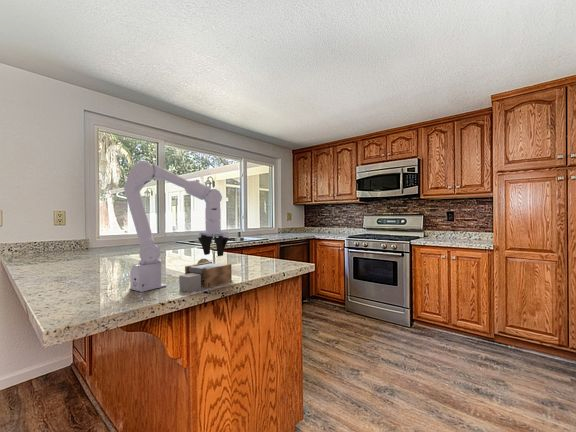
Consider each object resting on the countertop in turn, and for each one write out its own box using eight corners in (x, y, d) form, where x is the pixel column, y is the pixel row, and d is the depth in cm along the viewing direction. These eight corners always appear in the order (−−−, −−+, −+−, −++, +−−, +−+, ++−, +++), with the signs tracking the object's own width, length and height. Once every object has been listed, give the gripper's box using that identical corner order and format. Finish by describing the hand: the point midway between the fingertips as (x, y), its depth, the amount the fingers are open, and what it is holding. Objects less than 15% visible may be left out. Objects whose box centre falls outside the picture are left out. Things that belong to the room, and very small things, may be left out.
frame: (206, 287, 101) (206, 269, 101) (185, 283, 107) (185, 266, 107) (231, 280, 111) (231, 264, 110) (210, 277, 117) (210, 261, 117)
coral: (212, 277, 118) (212, 262, 118) (197, 278, 116) (197, 263, 116) (210, 270, 132) (210, 257, 132) (196, 271, 130) (196, 258, 130)
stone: (188, 292, 95) (188, 277, 95) (179, 290, 98) (179, 275, 98) (200, 288, 99) (200, 274, 99) (191, 287, 102) (191, 273, 102)
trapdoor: (203, 274, 101) (203, 268, 101) (187, 271, 106) (187, 266, 106) (226, 268, 111) (226, 264, 111) (210, 266, 116) (210, 262, 116)
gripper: (233, 220, 110) (234, 255, 110) (208, 219, 118) (209, 252, 118) (220, 220, 104) (220, 257, 104) (194, 220, 112) (194, 254, 113)
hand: (213, 255), depth 111 cm, fingers open, 7 cm apart
